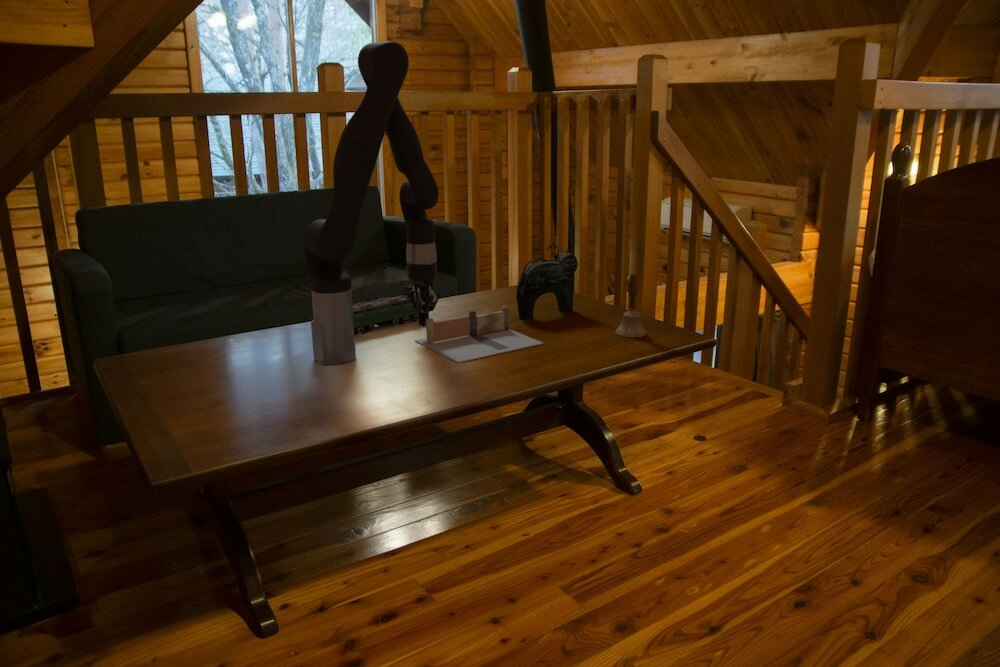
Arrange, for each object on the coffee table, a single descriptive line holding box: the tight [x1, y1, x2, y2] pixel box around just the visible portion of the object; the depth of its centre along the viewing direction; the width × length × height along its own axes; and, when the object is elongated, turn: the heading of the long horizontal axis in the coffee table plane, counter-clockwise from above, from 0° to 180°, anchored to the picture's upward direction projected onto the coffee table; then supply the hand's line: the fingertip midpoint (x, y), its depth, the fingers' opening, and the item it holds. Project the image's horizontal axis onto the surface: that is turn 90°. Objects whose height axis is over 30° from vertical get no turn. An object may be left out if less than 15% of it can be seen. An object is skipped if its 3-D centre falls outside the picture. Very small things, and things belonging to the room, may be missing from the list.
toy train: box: [353, 285, 419, 335], centre depth 213 cm, size 5×31×10 cm, turn 132°
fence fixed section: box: [468, 305, 510, 336], centre depth 207 cm, size 12×2×6 cm, turn 125°
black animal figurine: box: [515, 243, 578, 321], centre depth 223 cm, size 20×6×20 cm, turn 124°
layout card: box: [414, 328, 544, 364], centre depth 200 cm, size 26×21×1 cm
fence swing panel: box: [425, 315, 470, 343], centre depth 200 cm, size 12×2×6 cm, turn 125°
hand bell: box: [614, 273, 648, 339], centre depth 205 cm, size 8×8×16 cm
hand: (424, 325), depth 202 cm, fingers closed
